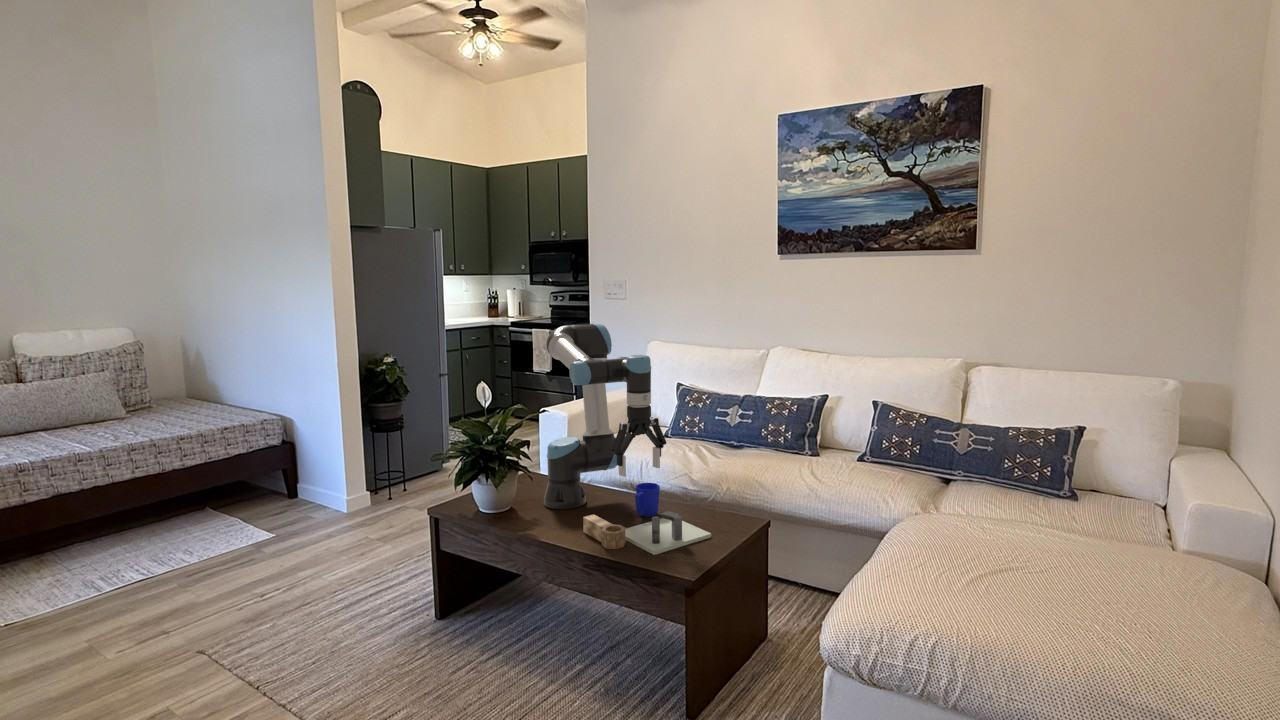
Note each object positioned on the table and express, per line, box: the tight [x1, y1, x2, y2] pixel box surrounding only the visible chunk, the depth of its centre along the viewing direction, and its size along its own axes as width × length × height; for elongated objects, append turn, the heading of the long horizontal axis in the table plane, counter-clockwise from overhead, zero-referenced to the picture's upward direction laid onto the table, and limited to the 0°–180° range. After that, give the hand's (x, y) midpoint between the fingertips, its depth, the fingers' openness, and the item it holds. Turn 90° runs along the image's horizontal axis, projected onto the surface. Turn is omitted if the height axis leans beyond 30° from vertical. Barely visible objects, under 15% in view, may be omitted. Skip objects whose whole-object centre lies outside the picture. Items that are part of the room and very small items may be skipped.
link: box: [582, 514, 627, 550], centre depth 217 cm, size 18×7×5 cm, turn 36°
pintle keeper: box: [651, 510, 683, 544], centre depth 213 cm, size 7×10×9 cm
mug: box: [634, 482, 661, 518], centre depth 237 cm, size 8×12×10 cm
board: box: [625, 518, 712, 556], centre depth 219 cm, size 20×22×1 cm
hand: (639, 471), depth 218 cm, fingers open, 13 cm apart
